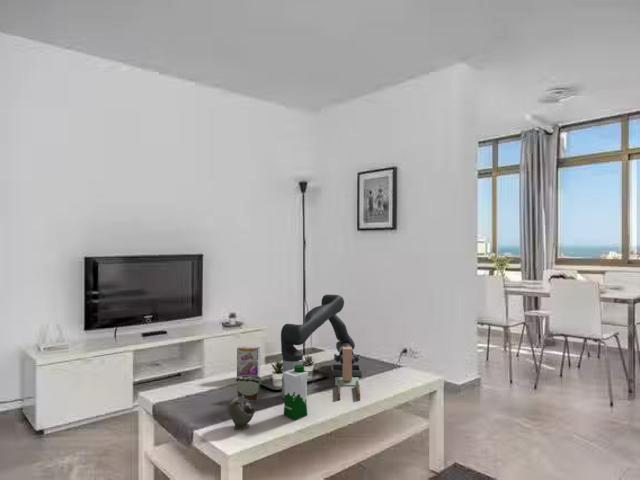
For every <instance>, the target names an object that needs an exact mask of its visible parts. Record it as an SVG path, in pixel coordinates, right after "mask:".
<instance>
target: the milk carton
mask: <svg viewBox="0 0 640 480" xmlns="http://www.w3.org/2000/svg"><path fill="white" fill-rule="evenodd" d="M282 376H283V377H284V384H285V398H284V403H283V416H285V417H287V418H290V419H291V420H293V421H297V420H299V419H301V418H303V417H307V416H308V407H307V406H308V405H307V404H308V403H307V400H308V399H307V398H308V397H307V392H308V391H307V388H308V387H307V386H308V383H307V382H308V377H309V371H306V370H305V365H295V367H294V369H292V370H288V371H286V372H283V371H282Z"/></svg>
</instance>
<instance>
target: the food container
mask: <svg viewBox="0 0 640 480" xmlns="http://www.w3.org/2000/svg"><path fill="white" fill-rule="evenodd" d="M234 381H235V382H236V392H237V393H236V394H237V398H238V397H242V395H241V394H243V395H244V398H247V399H248V400H249V401H250V402H258V401H259V395H260V385H262V379H261V376H260V377H259V376H257V375H241V376H238V377H237V376H236V377H235V379H234Z"/></svg>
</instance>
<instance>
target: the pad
mask: <svg viewBox="0 0 640 480" xmlns="http://www.w3.org/2000/svg"><path fill="white" fill-rule="evenodd" d="M359 378H360V377H352V381H343V378H342V377H336V376H334V381H335V387H338V381H340V387H356V381H358V384H359V387H360V386H361V385H360V379H359Z"/></svg>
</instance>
